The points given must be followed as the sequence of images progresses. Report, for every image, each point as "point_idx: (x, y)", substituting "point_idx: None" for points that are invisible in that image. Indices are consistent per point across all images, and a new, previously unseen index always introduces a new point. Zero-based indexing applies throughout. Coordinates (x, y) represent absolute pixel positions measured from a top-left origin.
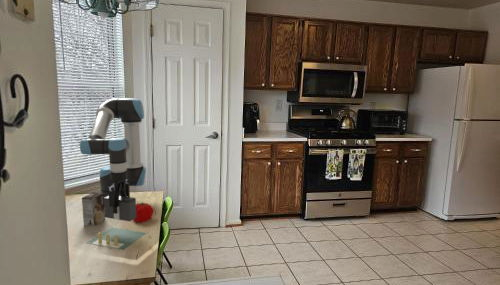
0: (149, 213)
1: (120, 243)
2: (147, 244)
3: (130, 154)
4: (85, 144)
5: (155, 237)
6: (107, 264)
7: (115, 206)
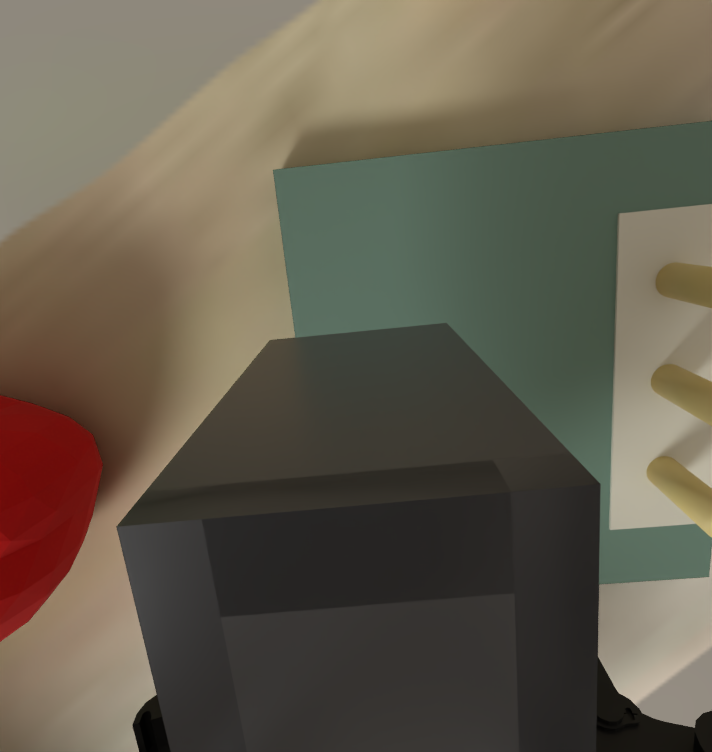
0: None
1: (626, 260)
2: (460, 5)
3: None
4: None
5: (269, 40)
6: None
7: (638, 729)
